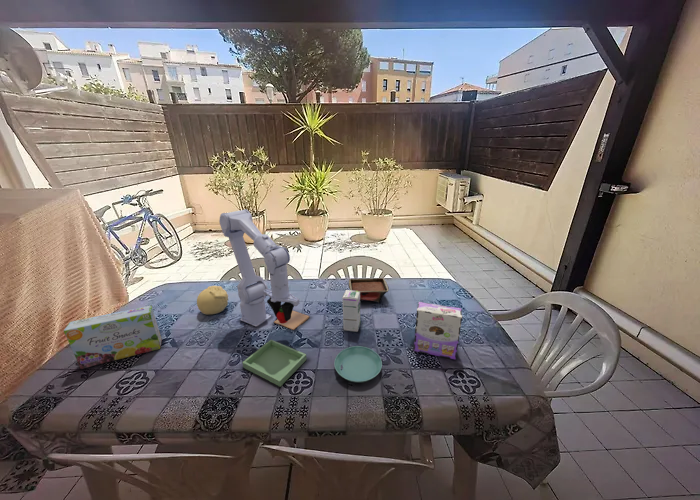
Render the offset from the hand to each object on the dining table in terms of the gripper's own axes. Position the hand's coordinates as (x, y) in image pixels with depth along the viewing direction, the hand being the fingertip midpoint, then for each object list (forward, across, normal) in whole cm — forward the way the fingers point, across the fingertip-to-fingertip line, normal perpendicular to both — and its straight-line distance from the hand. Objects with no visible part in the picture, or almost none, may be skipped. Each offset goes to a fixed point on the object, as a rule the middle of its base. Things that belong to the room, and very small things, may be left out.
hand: (283, 317), depth 95 cm
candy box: (+9, +49, +20) cm, 54 cm away
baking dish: (+9, +14, +41) cm, 44 cm away
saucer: (+9, +30, 0) cm, 31 cm away
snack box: (+9, -42, -33) cm, 54 cm away
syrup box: (+9, +18, +18) cm, 27 cm away
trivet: (+9, -5, +10) cm, 14 cm away
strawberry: (+1, 0, 0) cm, 1 cm away
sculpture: (+9, -39, -1) cm, 40 cm away
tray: (+9, +6, -11) cm, 16 cm away
